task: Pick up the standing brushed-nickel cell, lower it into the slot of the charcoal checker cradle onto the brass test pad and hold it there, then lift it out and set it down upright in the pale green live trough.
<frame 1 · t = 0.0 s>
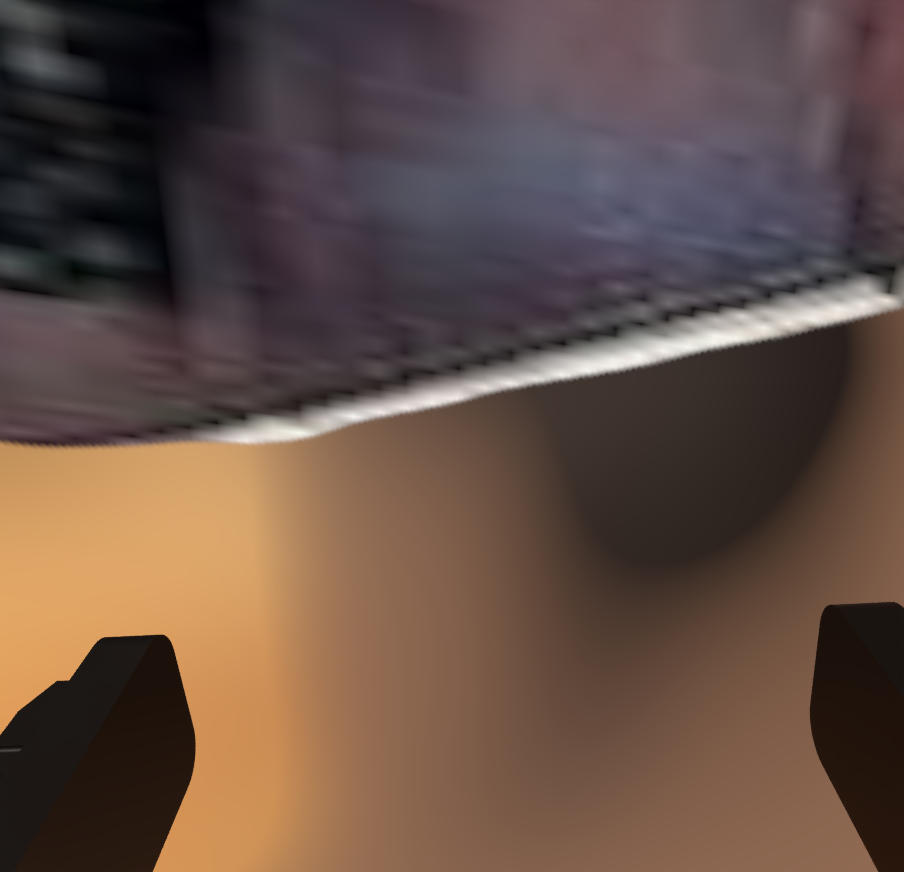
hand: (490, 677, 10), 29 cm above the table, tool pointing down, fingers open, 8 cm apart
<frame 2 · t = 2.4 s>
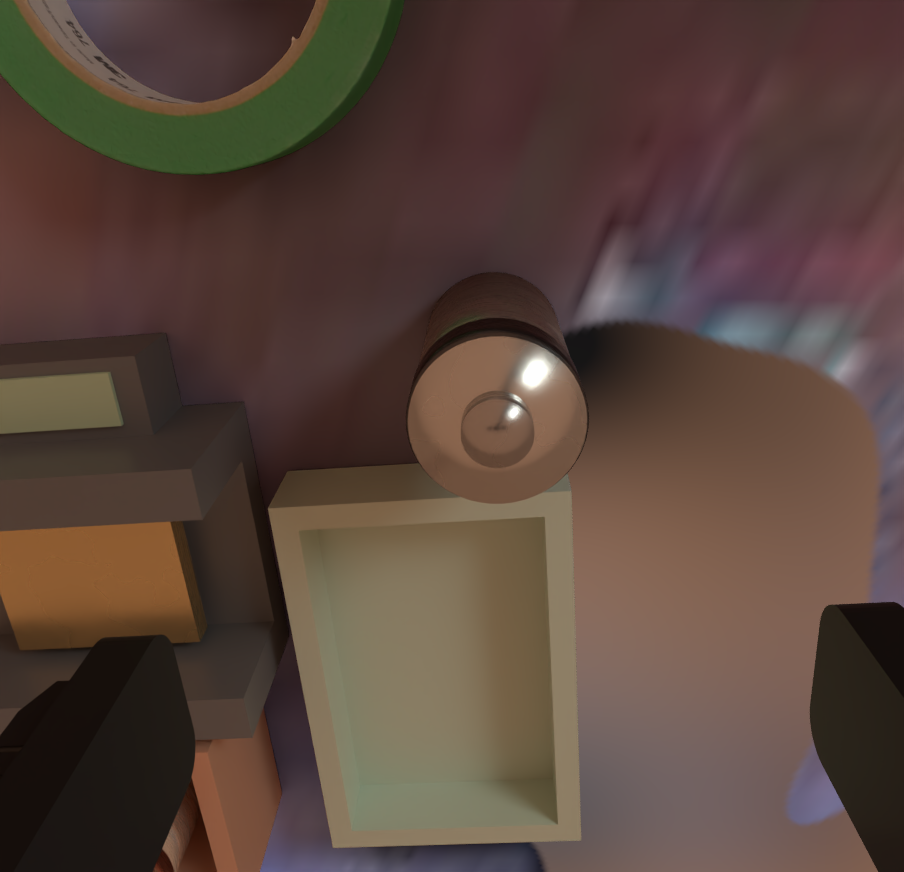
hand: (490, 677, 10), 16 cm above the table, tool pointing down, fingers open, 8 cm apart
test pad: (94, 570, 25), point 2 cm above the table, slide at 0.0 cm
cradle: (124, 534, 27), on the table
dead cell: (171, 739, 30), point 1 cm above the table, touching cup
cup: (177, 728, 31), on the table
trough: (442, 640, 29), on the table
cell: (493, 338, 24), on the table
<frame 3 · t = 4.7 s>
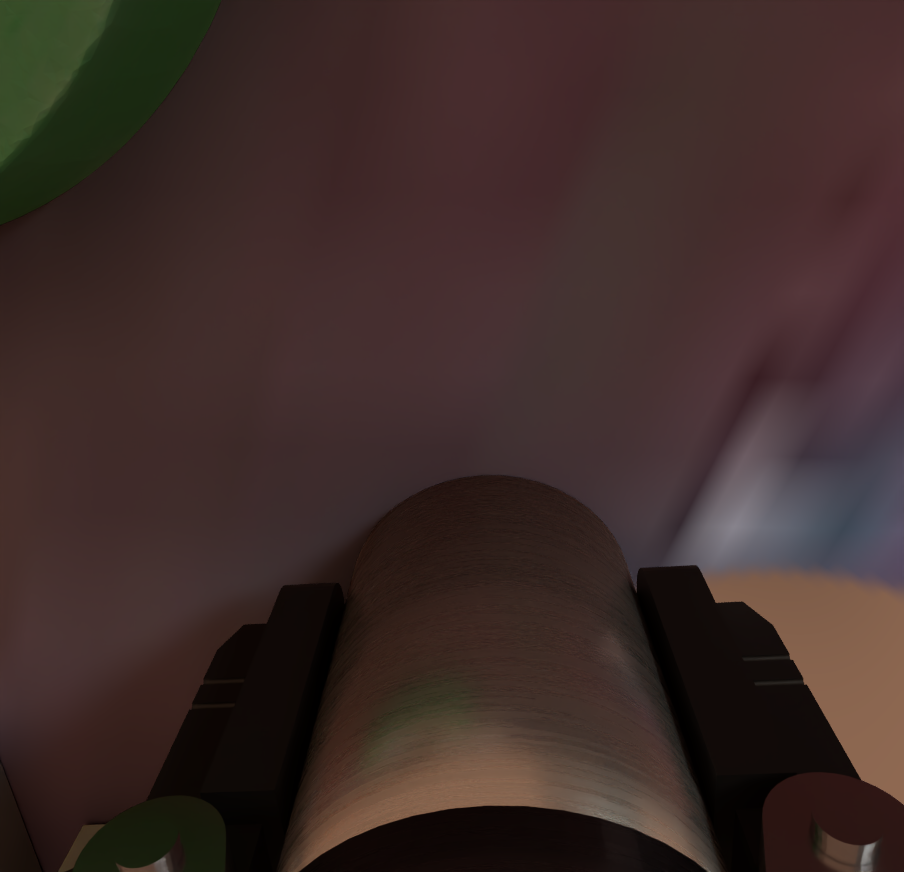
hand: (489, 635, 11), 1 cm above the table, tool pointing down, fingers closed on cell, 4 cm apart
cell: (490, 601, 11), on the table, touching gripper
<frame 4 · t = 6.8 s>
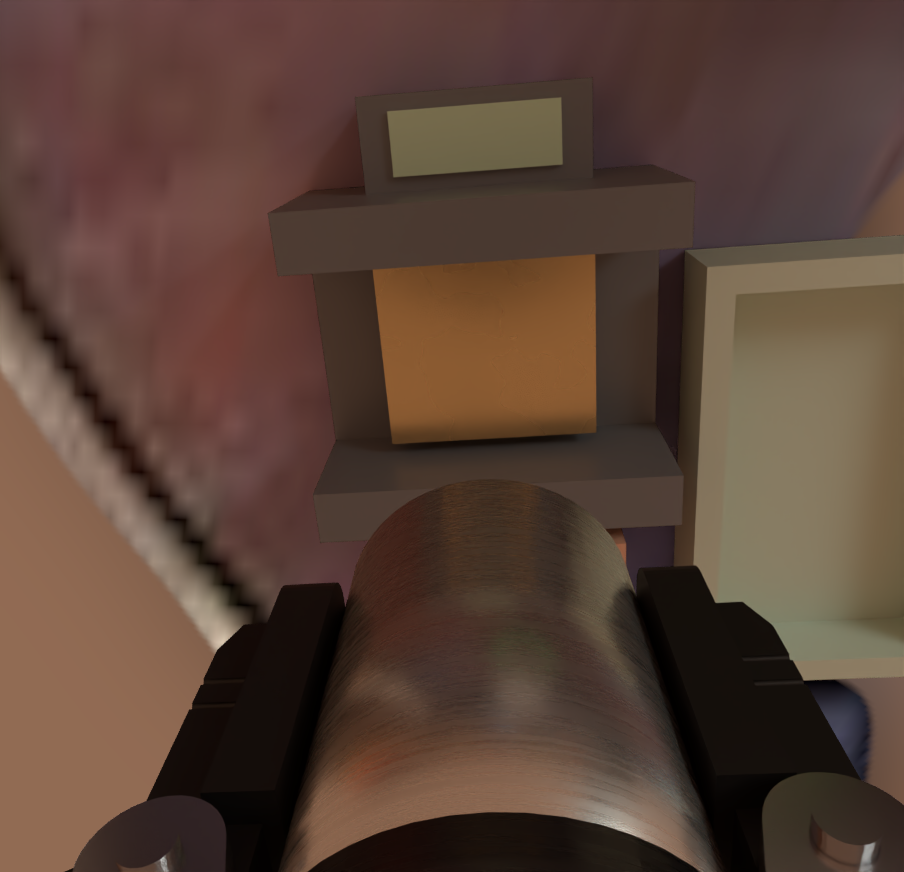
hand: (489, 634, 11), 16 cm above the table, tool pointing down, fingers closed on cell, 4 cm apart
test pad: (488, 349, 23), point 2 cm above the table, slide at 0.0 cm
cradle: (487, 328, 25), on the table
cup: (501, 562, 28), on the table
trough: (816, 455, 26), on the table
cell: (490, 605, 12), point 15 cm above the table, touching gripper
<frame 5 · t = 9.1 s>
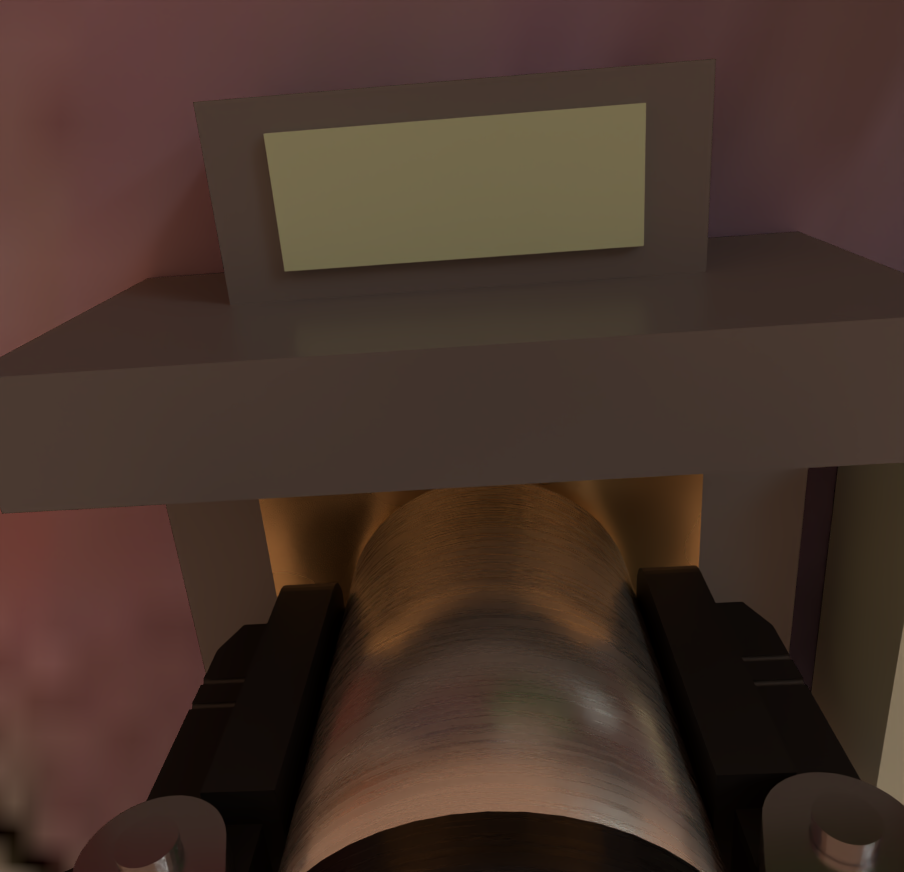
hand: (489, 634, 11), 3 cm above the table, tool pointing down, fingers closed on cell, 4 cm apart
test pad: (485, 588, 12), point 2 cm above the table, slide at 0.0 cm
cradle: (483, 514, 14), on the table
cell: (490, 604, 12), point 3 cm above the table, touching gripper
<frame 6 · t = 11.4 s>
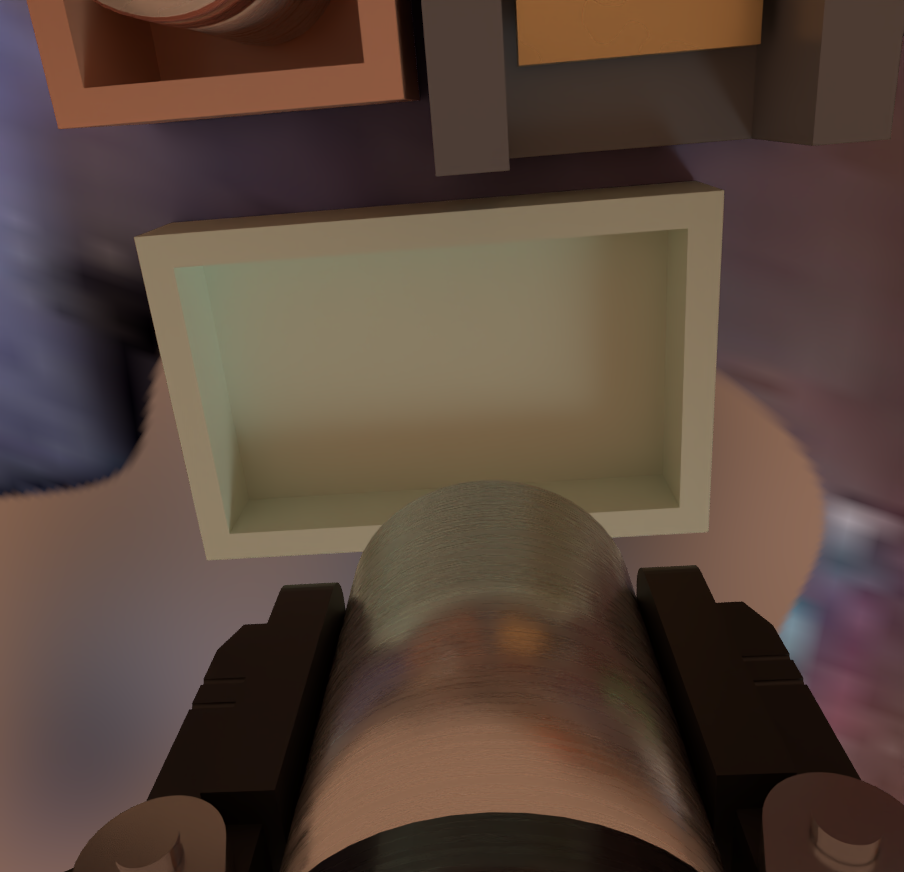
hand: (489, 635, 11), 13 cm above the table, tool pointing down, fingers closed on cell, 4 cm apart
trough: (443, 363, 23), on the table
cell: (490, 605, 12), point 12 cm above the table, touching gripper
when the fingers open (2 cm above the table, at t = 13.6 s): cell drops 1 cm, resting on trough.
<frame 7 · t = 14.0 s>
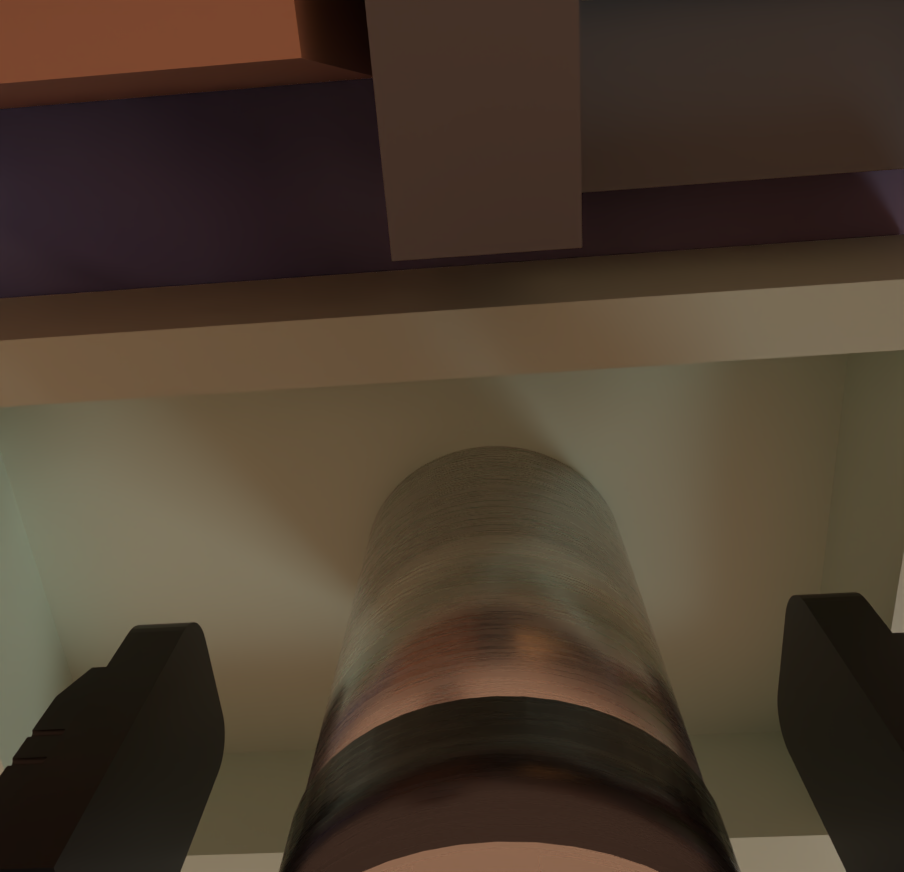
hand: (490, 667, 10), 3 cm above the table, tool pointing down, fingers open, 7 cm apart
trough: (425, 546, 13), on the table
cell: (494, 563, 13), point 1 cm above the table, touching trough
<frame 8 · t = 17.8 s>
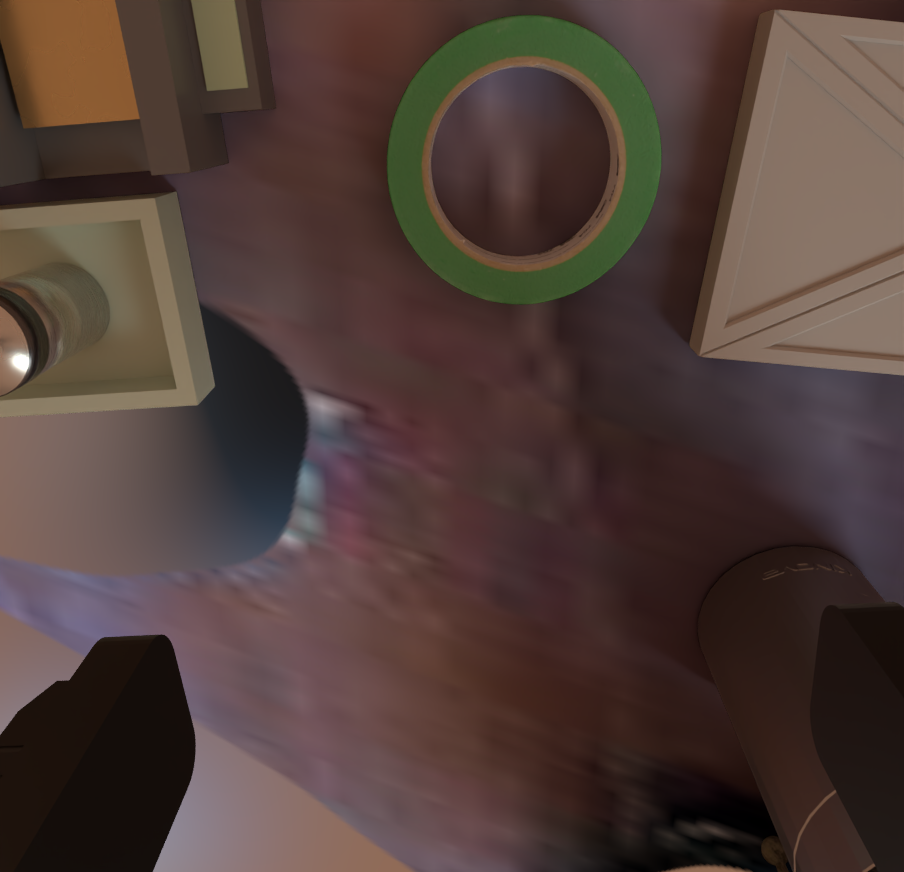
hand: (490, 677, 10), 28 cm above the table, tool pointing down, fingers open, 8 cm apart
test pad: (72, 39, 31), point 2 cm above the table, slide at 0.0 cm
cradle: (98, 43, 33), on the table
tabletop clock: (775, 858, 50), on the table
tape roll: (519, 164, 35), on the table
trough: (48, 303, 37), on the table
cell: (66, 306, 37), point 1 cm above the table, touching trough
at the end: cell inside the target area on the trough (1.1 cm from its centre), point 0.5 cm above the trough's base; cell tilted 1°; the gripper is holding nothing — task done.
